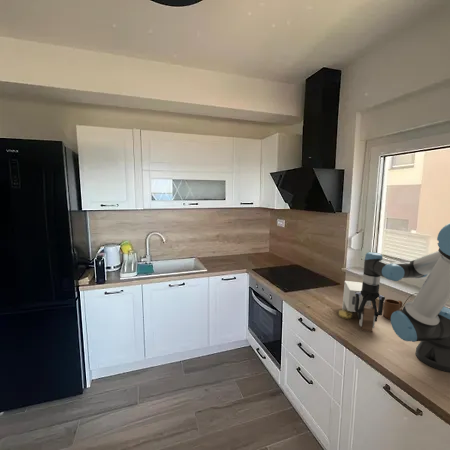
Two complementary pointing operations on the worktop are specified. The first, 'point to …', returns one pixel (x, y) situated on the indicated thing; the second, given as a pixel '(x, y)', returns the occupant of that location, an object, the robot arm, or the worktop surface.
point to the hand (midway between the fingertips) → (366, 325)
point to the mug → (391, 307)
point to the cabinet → (352, 295)
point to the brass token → (345, 314)
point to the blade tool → (367, 318)
